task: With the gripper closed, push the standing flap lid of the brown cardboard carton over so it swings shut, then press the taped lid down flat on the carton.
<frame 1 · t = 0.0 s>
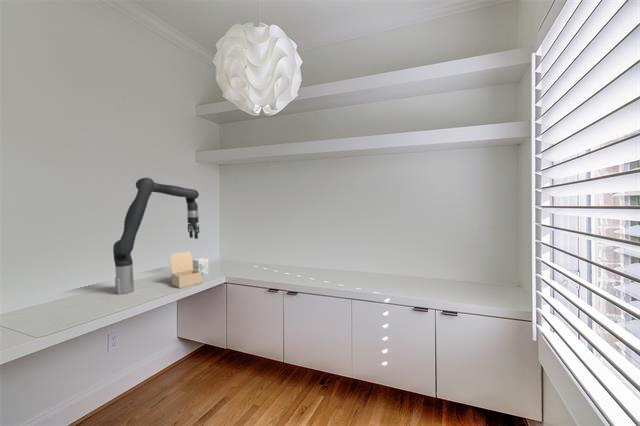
hand: (193, 238, 218), 29 cm above the worktop, fingers open, 8 cm apart
carton: (187, 284, 201), on the worktop
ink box: (200, 274, 229), on the worktop
lid: (181, 261, 206), point 14 cm above the worktop, hinge at 100.0°
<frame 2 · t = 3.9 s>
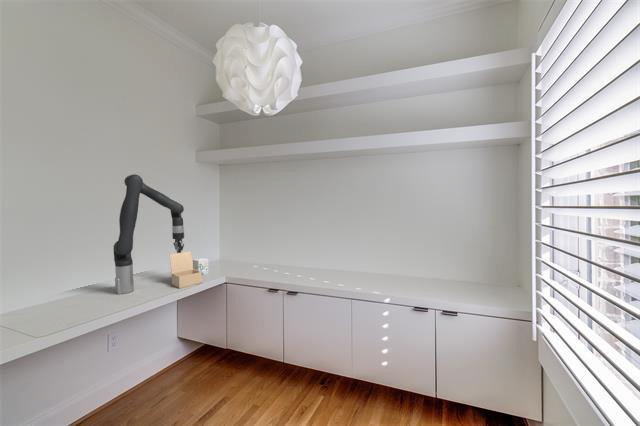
hand: (179, 256, 208), 18 cm above the worktop, fingers closed
lid: (181, 261, 206), point 14 cm above the worktop, hinge at 100.0°, touching gripper
everything else where it was.
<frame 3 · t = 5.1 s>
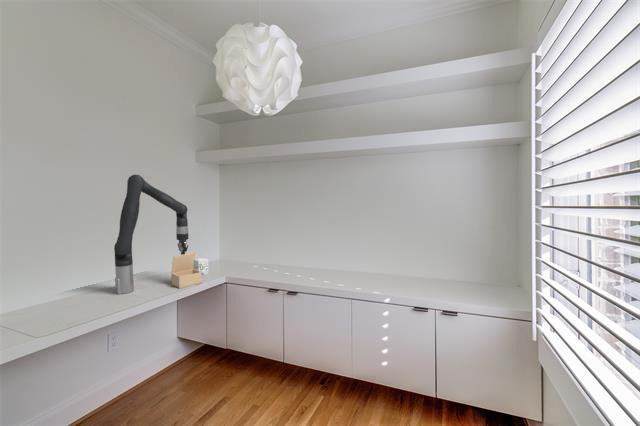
hand: (183, 257, 204), 18 cm above the worktop, fingers closed
lid: (183, 262, 204), point 14 cm above the worktop, hinge at 69.9°, touching gripper
everything else where it was.
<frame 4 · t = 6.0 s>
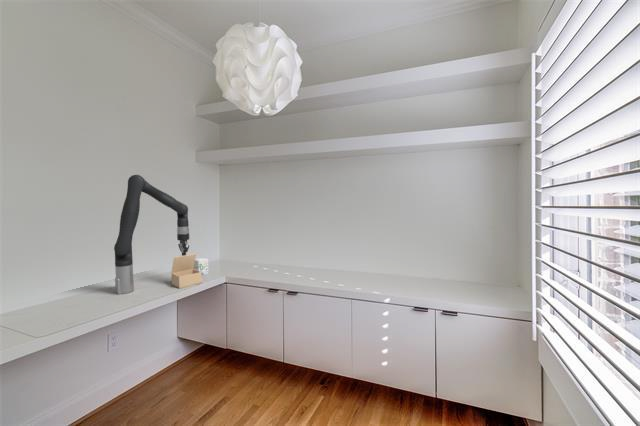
hand: (184, 257, 203), 18 cm above the worktop, fingers closed
lid: (183, 263, 203), point 14 cm above the worktop, hinge at 63.4°, touching gripper
everything else where it was.
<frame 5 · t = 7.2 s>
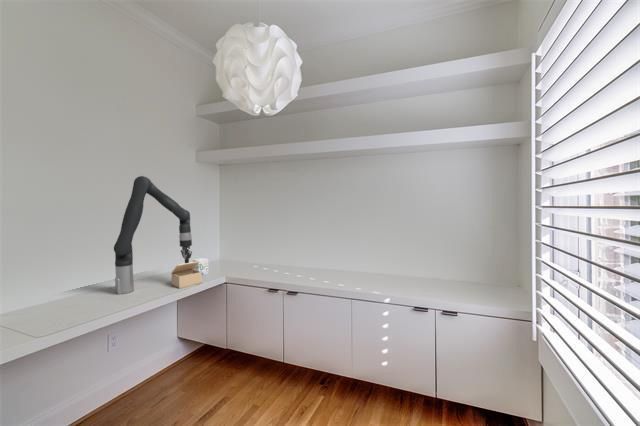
hand: (187, 264, 200), 14 cm above the worktop, fingers closed
lid: (185, 267, 202), point 12 cm above the worktop, hinge at 32.2°, touching carton, gripper
everything else where it was.
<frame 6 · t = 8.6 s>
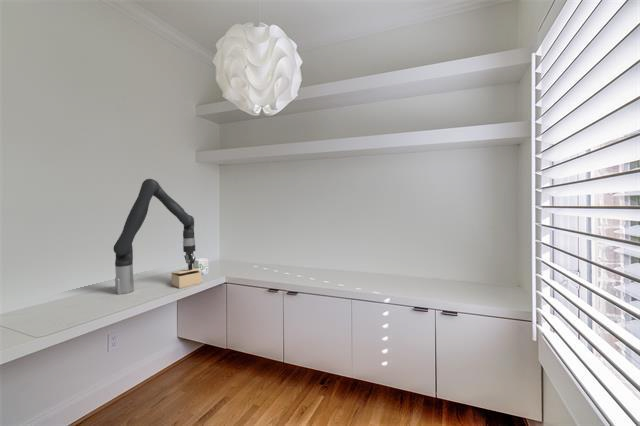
hand: (190, 269, 200), 10 cm above the worktop, fingers closed
lid: (186, 270, 201), point 9 cm above the worktop, hinge at 8.2°
everything else where it was.
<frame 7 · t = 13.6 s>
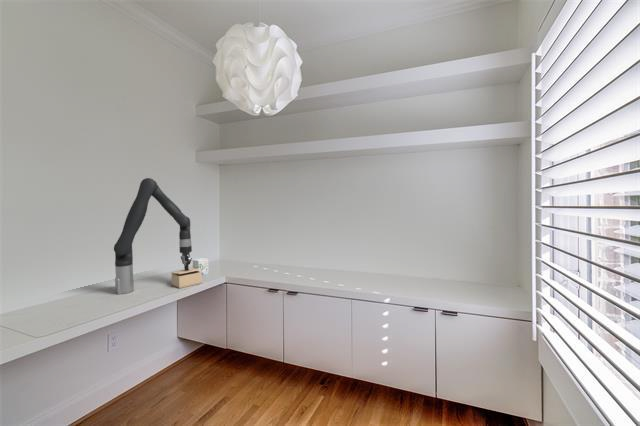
hand: (186, 270, 201), 10 cm above the worktop, fingers closed
lid: (186, 271, 201), point 9 cm above the worktop, hinge at 7.0°, touching carton, gripper
everything else where it was.
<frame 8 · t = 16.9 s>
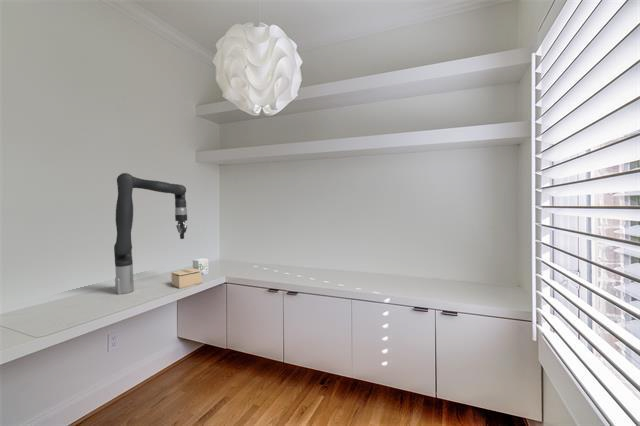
hand: (182, 238, 203), 31 cm above the worktop, fingers closed
lid: (186, 271, 201), point 9 cm above the worktop, hinge at 3.2°
everything else where it was.
at the end: lid at +3° (first picture: +100°) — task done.
